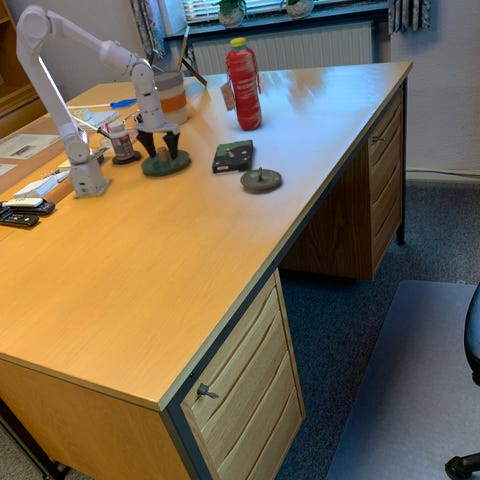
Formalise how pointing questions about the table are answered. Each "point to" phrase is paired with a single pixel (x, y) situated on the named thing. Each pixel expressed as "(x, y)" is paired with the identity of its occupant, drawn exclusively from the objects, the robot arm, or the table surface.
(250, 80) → the water bottle
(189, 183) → the table surface
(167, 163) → the tin lid
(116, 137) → the pill bottle
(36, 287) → the table surface
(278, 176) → the lid
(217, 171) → the disk drive
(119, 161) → the stand
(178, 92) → the reusable coffee cup
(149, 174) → the dark green open loop
